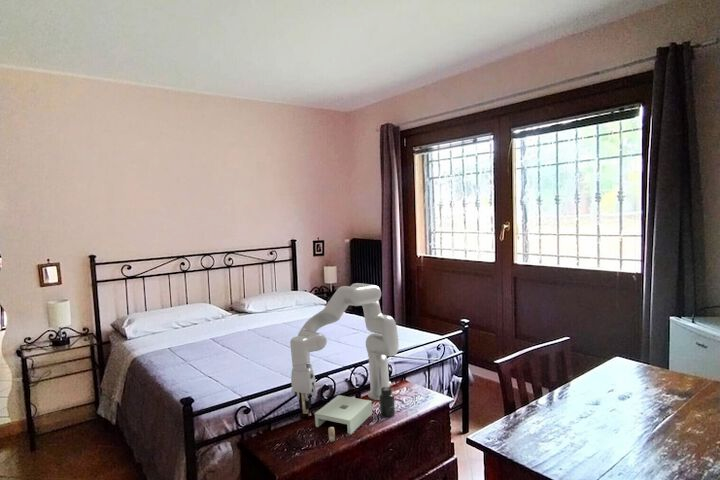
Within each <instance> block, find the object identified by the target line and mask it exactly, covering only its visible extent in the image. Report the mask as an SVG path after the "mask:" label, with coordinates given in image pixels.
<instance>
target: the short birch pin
mask: <svg viewBox="0 0 720 480" xmlns="http://www.w3.org/2000/svg"><path fill="white" fill-rule="evenodd" d="M327 428H328V429H327V430H328V433H327V434H328V441H329V442H330V443H331V442H332V443H333V442H335V440H336V434H335V433H336V431H335V427H334V426H330V427H327Z"/></svg>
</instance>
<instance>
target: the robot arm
mask: <svg viewBox="0 0 720 480" xmlns="http://www.w3.org/2000/svg"><path fill="white" fill-rule="evenodd" d="M381 297H382V291H381V288H380V287H379V286H378V285H375V284H368V283H359V282H356V283H352V284H351V285H350V286H348V285H342V286H340V287H338V288H337V289H336V291H335V292H334V294H332V296H331V298H330V299H329V300H328V302H327V304H326V305H325V306H324V308H323V309H322V310H320V311H318V312H317V313H315V314H314V315H313V316H311V317H310V318H308V320H307V321H306V322H305V323H304V324H303V326H302V327H301V328H300V330H299V331H298V333H297V336H294V337H292V338H291V339H290V340H289V341H290V342H289V344H290V352H291V353H290V355H291V365H292V366H291V367H292V369H291V375H290V377H291V378H290V379H291V381H290V383H291V392H292V393H293V394H295V396H296V398H297V400H298V406H299V407H298V408H299V409H303V408H302V398H301V393H305V397H306V400H305V408H306V410H308V409H310V408H311V407H312V398H313V397H315V396H316V395H317V394H318V392H317V382H316V377H315V373H314V370H313V368H312V367H313V364H311V357H310V353H314V352H319V351H321V350H323V349H324V348H325V347H326V346H327V341H328V340H327V337H326V336H325V335H324V334H322V333H321V332H318V330H320V329H321V328H322V327H325V326H328V325H330V324H334V323H337V322H338V321H339V320H340V319H341V317H342V316H343V315H344V313H345V312H346V310H347V309H348V307H349V306H354V307H360V306H361V307H362V309H363V316H364V317H363V318H364V321H365V327H366V330H367V331H369V332H370V333H371V334H368V336H367V337H366V339H365V348H366V351H367V352H366V353H367V355H368V356H367V357H368V368H369V381H370V384H369V385H370V390H369V391H368V392H367V396H368V398H369V399H371V400H374V401H380V399H379V397H380V395H381V394H382V393H381V388H383V387H390V386H391V385H392V382H391V380H390V376H389V361H388V357H393V356H396V355H397V353H398V351H399V350H400V349H399V346H400V344H399V335H398V328H397V323H396V320H395V318H393V316H391V315H388V314H383V313H382V310H381V305H380V299H381ZM390 388H391V387H390ZM392 394H393V395H394V392H393V391H392Z"/></svg>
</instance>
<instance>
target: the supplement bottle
mask: <svg viewBox="0 0 720 480" xmlns="http://www.w3.org/2000/svg"><path fill="white" fill-rule="evenodd" d="M392 392H393V390H392V387H383V388H381V393H382V394H381V395H380V397H379V399H380V400H379V412H380V416H382V417H384V418H391V417H394V416H395V415H396V409H395V408H396V407H395V405H396V403H395V395H394V393H393V394H392Z"/></svg>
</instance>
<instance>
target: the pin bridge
mask: <svg viewBox="0 0 720 480" xmlns="http://www.w3.org/2000/svg"><path fill="white" fill-rule="evenodd" d="M372 403H373V402H372V400H369V399H363V398H356V397H352V396H351V397H350V396H346V395H341V394H338V395H336V396H335V397H334V398H332V399H331V400H330V401H329V402H327V403H326V404H325V405H324V406H322V407H321V408H320V409H318V410H317V411H316V412H314V422H315V423H314V424H315V427H316V428H319V427H321V425H323V424H324V423H325V422H327V421H329V422H333V423H339V424H343V425H347V426H346V427H347V434H348V435H352V434H353V433H354V432H355V431H356V430H357V429H358V428H359V427H360V426H361V425H362V424H363V423H364V422H365V421H366V420H367V419H368V418H369V417H370V416H371V415H372V414H373V405H372Z"/></svg>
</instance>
